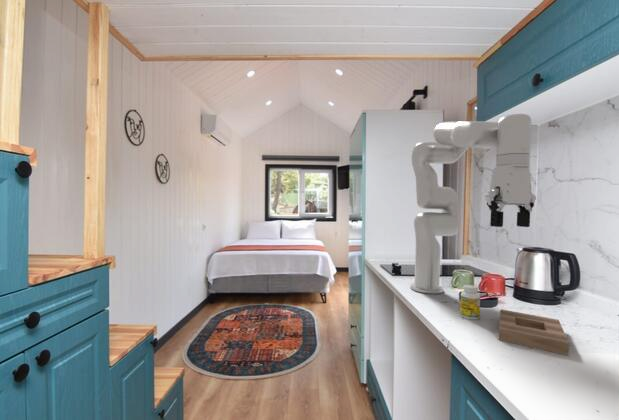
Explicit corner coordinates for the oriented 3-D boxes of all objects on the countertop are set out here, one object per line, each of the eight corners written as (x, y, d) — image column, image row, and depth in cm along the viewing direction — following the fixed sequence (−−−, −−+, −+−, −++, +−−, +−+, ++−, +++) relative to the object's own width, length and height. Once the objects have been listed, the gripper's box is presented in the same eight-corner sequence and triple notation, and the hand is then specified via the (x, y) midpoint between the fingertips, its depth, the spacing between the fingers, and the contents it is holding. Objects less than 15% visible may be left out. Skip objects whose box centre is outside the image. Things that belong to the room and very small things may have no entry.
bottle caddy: (500, 318, 95) (500, 309, 95) (558, 330, 87) (558, 319, 87) (498, 339, 80) (498, 328, 80) (568, 355, 72) (569, 342, 72)
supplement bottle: (482, 317, 96) (483, 286, 95) (475, 321, 92) (477, 289, 92) (463, 312, 100) (465, 283, 99) (457, 316, 96) (458, 285, 96)
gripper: (521, 166, 89) (519, 225, 89) (475, 162, 83) (473, 225, 83) (549, 163, 81) (547, 227, 82) (501, 158, 76) (498, 227, 76)
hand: (510, 226), depth 82 cm, fingers open, 9 cm apart
